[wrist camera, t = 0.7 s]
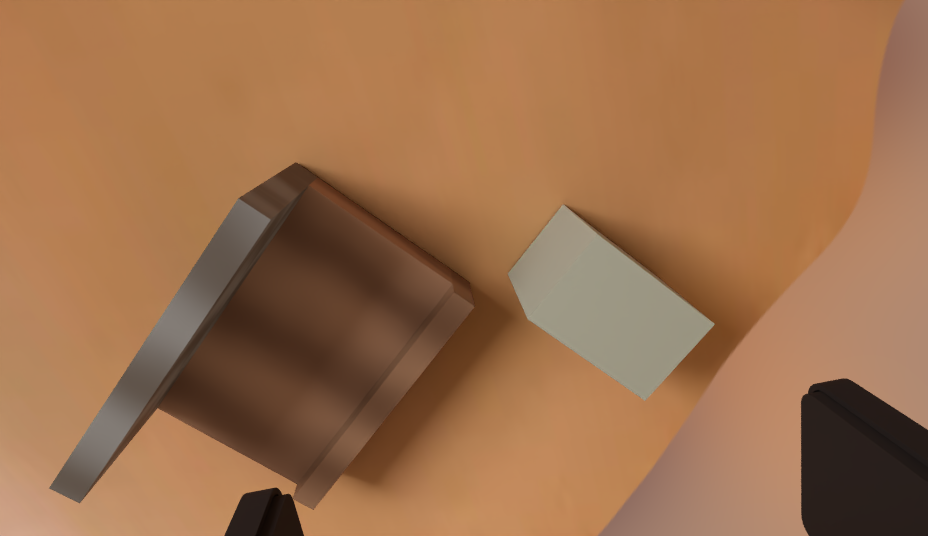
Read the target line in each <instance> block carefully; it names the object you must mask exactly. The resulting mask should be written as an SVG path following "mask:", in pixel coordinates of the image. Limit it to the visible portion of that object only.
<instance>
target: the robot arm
mask: <svg viewBox="0 0 928 536" xmlns="http://www.w3.org/2000/svg"><path fill="white" fill-rule="evenodd" d="M801 467H802V468H801V489H802V490H801V491H802V493H801V507H802V508H801V513H802V514H801V515H802V521H803V525H804V527H805V529H806V531H807V533H808V535H809V536H928V430H927V429H925V428H924V427H922V426H921V425H919V424H918V423H916V422H915V421H913V420H911V419H910V418H908V417H907V416H905V415H904V414H902V413H901V412H899V411H898V410H896V409H895V408H893V407H891V406H890V405H888V404H887V403H885V402H884V401H882V400H881V399H879V398H878V397H876V396H874V395H873V394H871V393H870V392H868V391H867V390H865V389H864V388H862V387H860V386H859V385H857V384H856V383H854V382H853V381H851V380H849V379H838V380H833V381H827V382H823V383H817V384H813V385H812V386H810V388H809V391H808V394H805V395H804V396H803V397H802V401H801ZM225 536H304V534H303V531H302V528H301V524H300V521H299V518H298V514H297V511H296V508H295V504H294V501H293V498H292V496H291V495H290V494H285V495H282V493H281V491H280V490H279V489H278V488H271V489H266V490H261V491H256V492H251V493H246V494H244V495H243V496H242V498H241V500H240V502H239V504H238V506H237V509H236V511H235V513H234V515H233V518H232V520H231V522H230V524H229V527H228V529H227V531H226V533H225Z"/></svg>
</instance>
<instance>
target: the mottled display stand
mask: <svg viewBox="0 0 928 536" xmlns="http://www.w3.org/2000/svg"><path fill="white" fill-rule="evenodd" d="M474 307H475V305H474V300H473V296H472V292H471V288H470V283H469V282H468V281H467V280H465V279H464V278H462V277H461V276H459V275H458V274H456V273H455V272H454V271H452V270H451V269H449V268H448V267H446V266H445V265H443V264H442V263H441V262H439V261H438V260H436V259H435V258H433V257H432V256H430V255H429V254H428V253H426V252H425V251H423V250H422V249H420V248H419V247H417V246H416V245H415V244H413V243H412V242H410V241H409V240H407V239H406V238H404V237H403V236H402V235H400V234H399V233H397V232H396V231H394V230H393V229H392V228H390V227H389V226H387V225H386V224H384V223H383V222H381V221H380V220H379V219H377V218H376V217H374V216H373V215H371V214H370V213H368V212H367V211H366V210H364V209H363V208H361V207H360V206H358V205H357V204H355V203H354V202H353V201H351V200H350V199H348V198H347V197H345V196H344V195H342V194H341V193H340V192H338V191H337V190H335V189H334V188H332V187H331V186H329V185H328V184H327V183H325V182H324V181H322V180H321V179H319V178H318V177H316V176H315V175H314V174H312V173H311V172H309V171H308V170H306V169H305V168H304V167H302V166H301V165H299V164H298V163H294V164H292V165H291V166H289V167H288V168H286V169H284V170H283V171H281V172H280V173H278V174H276V175H275V176H273V177H272V178H270V179H268V180H267V181H265V182H264V183H262V184H261V185H259V186H257V187H256V188H254V189H253V190H251V191H249V192H248V193H246V194H245V195H243V196H241V197H240V198H238V200H237V201H236V203H235V204H234V206H233V208H232V209H231V211H230V212H229V214H228V215H227V217H226V218H225V220H224V221H223V223H222V224H221V226H220V227H219V229H218V230H217V232H216V234H215V235H214V237H213V238H212V240H211V241H210V243H209V244H208V246H207V247H206V249H205V250H204V252H203V253H202V255H201V257H200V258H199V260H198V261H197V263H196V264H195V266H194V267H193V269H192V270H191V272H190V273H189V275H188V276H187V278H186V279H185V281H184V283H183V284H182V286H181V287H180V289H179V290H178V292H177V293H176V295H175V296H174V298H173V299H172V301H171V302H170V304H169V305H168V307H167V309H166V310H165V312H164V313H163V315H162V316H161V318H160V319H159V321H158V322H157V324H156V325H155V327H154V328H153V330H152V332H151V333H150V335H149V336H148V338H147V339H146V341H145V342H144V344H143V345H142V347H141V348H140V350H139V351H138V353H137V354H136V356H135V358H134V359H133V361H132V362H131V364H130V365H129V367H128V368H127V370H126V371H125V373H124V374H123V376H122V377H121V379H120V380H119V382H118V384H117V385H116V387H115V388H114V390H113V391H112V393H111V394H110V396H109V397H108V399H107V400H106V402H105V403H104V405H103V407H102V408H101V410H100V411H99V413H98V414H97V416H96V417H95V419H94V420H93V422H92V423H91V425H90V426H89V428H88V429H87V431H86V433H85V434H84V436H83V437H82V439H81V440H80V442H79V443H78V445H77V446H76V448H75V449H74V451H73V452H72V454H71V455H70V457H69V459H68V460H67V462H66V463H65V465H64V466H63V468H62V469H61V471H60V472H59V474H58V475H57V477H56V478H55V480H54V481H53V483H52V485H51V486H50V488H49V489H52V490H54V491H56V492H58V493H60V494H62V495H64V496H66V497H68V498H70V499H72V500H74V501H76V502H78V503H80V502H81V501H82V500H83V499H84V497H85V496H86V495H87V494H88V493H89V491H90V490H91V489H92V488H93V486H94V485H95V484H96V483H97V482H98V480H99V479H100V478H101V477H102V475H103V474H104V473H105V472H106V470H107V469H108V468H109V467H110V466H111V464H112V463H113V462H114V461H115V459H116V458H117V457H118V456H119V455H120V453H121V452H122V451H123V450H124V448H125V447H126V446H127V445H128V443H129V442H130V441H131V440H132V439H133V437H134V436H135V435H136V434H137V432H138V431H139V430H140V429H141V428H142V426H143V425H144V424H145V423H146V421H147V420H148V419H149V418H150V416H151V415H152V414H153V413H154V412H155V410H156V409H157V408H158V409H160V410H162V411H164V412H166V413H168V414H169V415H171V416H173V417H175V418H177V419H179V420H180V421H182V422H184V423H186V424H188V425H190V426H191V427H193V428H195V429H197V430H199V431H201V432H203V433H204V434H206V435H208V436H210V437H212V438H214V439H215V440H217V441H219V442H221V443H223V444H225V445H226V446H228V447H230V448H232V449H234V450H236V451H237V452H239V453H241V454H243V455H245V456H247V457H248V458H250V459H252V460H254V461H256V462H258V463H259V464H261V465H263V466H265V467H267V468H269V469H271V470H272V471H274V472H276V473H278V474H280V475H282V476H283V477H285V478H287V479H289V480H291V481H293V482H294V483H296V484H297V487H296V490H295V493H294V496H293V499H294V500H296V501H298V502H300V503H301V504H303V505H305V506H307V507H309V508H311V509H313V510H314V508H315V507H316V506H317V505H318V503H319V502H320V501H321V500H322V498H323V497H324V496H325V495H326V493H327V492H328V491H329V489H330V488H331V487H332V486H333V484H334V483H335V482H336V481H337V479H338V478H339V477H340V476H341V474H342V473H343V472H344V471H345V469H346V468H347V467H348V466H349V464H350V463H351V462H352V461H353V459H354V458H355V457H356V455H357V454H358V453H359V452H360V450H361V449H362V448H363V447H364V445H365V444H366V443H367V442H368V440H369V439H370V438H371V437H372V435H373V434H374V433H375V432H376V430H377V429H378V428H379V427H380V425H381V424H382V423H383V422H384V420H385V419H386V418H387V416H388V415H389V414H390V413H391V411H392V410H393V409H394V408H395V406H396V405H397V404H398V403H399V401H400V400H401V399H402V398H403V396H404V395H405V394H406V393H407V391H408V390H409V389H410V388H411V386H412V385H413V384H414V383H415V381H416V380H417V379H418V377H419V376H420V375H421V374H422V372H423V371H424V370H425V369H426V367H427V366H428V365H429V364H430V362H431V361H432V360H433V359H434V357H435V356H436V355H437V354H438V352H439V351H440V350H441V349H442V347H443V346H444V345H445V344H446V342H447V341H448V340H449V338H450V337H451V336H452V335H453V333H454V332H455V331H456V330H457V328H458V327H459V326H460V325H461V323H462V322H463V321H464V320H465V318H466V317H467V316H468V315H469V313H470V312H471V311H472V310H473V308H474Z"/></svg>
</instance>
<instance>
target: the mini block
mask: <svg viewBox="0 0 928 536" xmlns="http://www.w3.org/2000/svg"><path fill="white" fill-rule="evenodd" d="M508 276H509V278H510V280H511V283H512V285H513V287H514V289H515V292H516V294H517V296H518V298H519V301H520V303H521V305H522V307H523V310H524V312H525V314H526V316H527V319H528V320H530V321H531V322H532V323H534V324H535V325H537V326H538V327H540V328H541V329H543V330H544V331H545V332H547V333H548V334H550V335H551V336H553V337H554V338H556V339H557V340H558V341H560V342H561V343H563V344H564V345H566V346H567V347H568V348H570V349H571V350H573V351H574V352H576V353H577V354H579V355H580V356H581V357H583V358H584V359H586V360H587V361H589V362H590V363H592V364H593V365H594V366H596V367H597V368H599V369H600V370H602V371H603V372H604V373H606V374H607V375H609V376H610V377H612V378H613V379H615V380H616V381H617V382H619V383H620V384H622V385H623V386H625V387H626V388H628V389H629V390H630V391H632V392H633V393H635V394H636V395H638V396H639V397H640V398H642V399H643V400H646V399H647V398H648V397H649V396H650V395H651V394H652V393H653V392H654V391H655V389H656V388H657V387H658V386H659V385H660V384H661V383H662V382H663V381H664V380H665V378H666V377H667V376H668V375H669V374H670V373H671V372H672V371H673V370H674V369H675V368H676V366H677V365H678V364H679V363H680V362H681V361H682V360H683V359H684V358H685V357H686V355H687V354H688V353H689V352H690V351H691V350H692V349H693V348H694V347H695V346H696V345H697V343H698V342H699V341H700V340H701V339H702V338H703V337H704V336H705V335H706V334H707V332H708V331H709V330H710V329H711V328H712V327H713V326H714V325H715V324H714V323H713V322H712V321H711V320H709V319H708V318H707V317H706V316H704V315H703V314H702V313H701V312H700V311H698V310H697V309H696V308H695V307H694V306H692V305H691V304H690V303H689V302H688V301H686V300H685V299H684V298H683V297H682V296H680V295H679V294H678V293H677V292H676V291H674V290H673V289H672V288H671V287H669V286H668V285H667V284H666V283H665V282H663V281H662V280H661V279H660V278H658V277H657V276H656V275H655V274H653V273H652V272H651V271H649V270H648V269H647V268H645V267H644V266H643V265H642V264H640V263H639V262H638V261H636V260H635V259H634V258H632V257H631V256H630V255H629V254H627V253H626V252H625V251H623V250H622V249H621V248H619V247H618V246H617V245H616V244H614V243H613V242H612V241H610V240H609V239H608V238H606V237H605V236H604V235H603V234H601V233H600V232H599V231H597V230H596V229H595V228H593V227H592V226H591V225H590V224H588V223H587V222H586V221H584V220H583V219H582V218H580V217H579V216H578V215H577V214H575V213H574V212H573V211H571V210H570V209H569V208H567V207H566V206H565V205H564V204H563V205H562V206H561V208H560V209H559V210H558V211H557V213H556V214H555V215H554V216H553V218H552V219H551V220H550V221H549V223H548V224H547V225H546V226H545V228H544V229H543V230H542V232H541V233H540V234H539V235H538V237H537V238H536V239H535V240H534V242H533V243H532V244H531V245H530V247H529V248H528V249H527V250H526V252H525V253H524V254H523V255H522V257H521V258H520V259H519V260H518V262H517V263H516V264H515V265H514V267H513V268H512V269H511V270H510V272H509V273H508Z"/></svg>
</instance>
